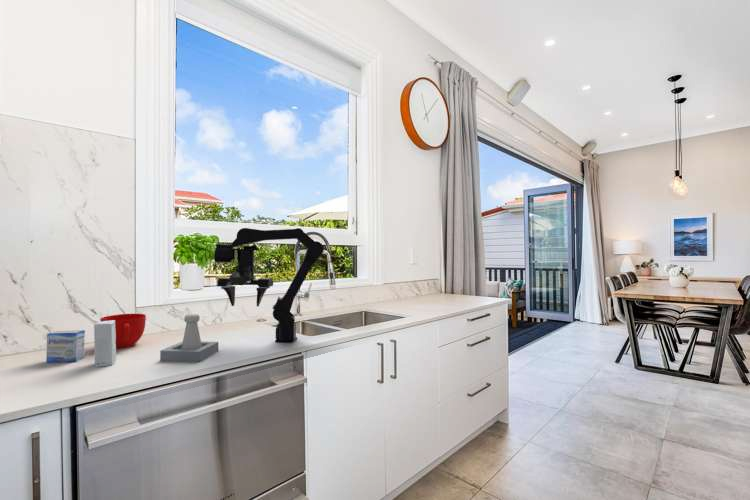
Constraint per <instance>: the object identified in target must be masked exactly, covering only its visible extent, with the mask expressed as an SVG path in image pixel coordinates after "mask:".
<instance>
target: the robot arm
mask: <svg viewBox="0 0 750 500" xmlns="http://www.w3.org/2000/svg"><path fill="white" fill-rule="evenodd" d="M280 240H281V241H282V240H297V241H298V242H299V243H301V244H302V245H303V246H304V247H305V248H306V251H305V253H304V258H303V260H302V262H301V264H300V266H299V268H298V270H297V272H296V274H295V275H294V277H293V279H292V280H291V283H290V285H289V287H288V288H287V290H286V292H285V294H283V296H282V297H280V296H278V298H277V300H276V302H275V304H273V305H272V310H273V311H272V317H273V318H274V319H275V321H276V322H278V323H276V327H275V340H274V341H275V343H294V342H295V341H296V340H297V339H298V336H297V323H296V322H295V320H296V317H295V315H294V314H293V313H292V312H291V310H292V308H293V307H292V306H293V304H294V301H295V298H296V296H297V294H298V292H299V291H300V289H301V287H302V285H303V283H304V281H305V279H306V277H307V275H308V274H309V272H310V270H311V268H312V267H313V265H315V263H316V262H317V261H318V260H319V258H320V257H321V256H322V255H323V253H324V245H323V243H321V242H320V241H316V240H314V239H313V238H311V237H310V236H309V235H308V234H307V233H306V232H304V230H303V229H302V228H299V227H298V228H297V227H296V228H290V229H289V228H287V229H268V230H267V229H265V230H264V229H263V230H262V229H255V228H249V227H248V228H247V227H243V228H239V230H237V233H236V238H235V239H234V240H233V242H231V244H222V243H216V244H215V249H214V253H213V259H214V260H213V261H214V263H215V264H233V262H234V261H236V259H237V265H236V266H235V270H234V272H232V273H231V274H230V275H229V277H221V278H218V279H217V281H216V286H217V287H220V289H221V290H224V291H225V294H227V295H226V296H228V299H229V302H230V306H231V307H234V306H235V301H236V286H258V287H256V288H255V289H256V307H259V306H260V304H261V302H262V300H263V297H264V295H265V293H266V291H267V290H268V289H270V288H271V287H274V280H273V278H271V277H268V278H267V277H261V278H258V279H256V276H255V269H256V265H255V251H260V249H261V248H259V247H258V246H257V244H256V243H260V242H265V241H280ZM251 244H252V245H251ZM240 247H243V248H240Z"/></svg>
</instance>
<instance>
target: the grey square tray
mask: <svg viewBox="0 0 750 500" xmlns="http://www.w3.org/2000/svg"><path fill="white" fill-rule="evenodd" d="M182 343H183V340H182V341H179V342H178V343H175V344H173V345H171V346H168V347H166V348H163V349H161V350H160V351H159V353H160V355H159V358H160V360H159V361H160V362H187V361H188V363H189V362H190V363H194V362H196V363H199V362H201V361H203V360H205V359H206V358H208V357H210V356H212V355H213V354H215V353H217V352H219V341H202V340H201V344H202V347H201V348H199V349H197V350H185V349H181V348H182Z"/></svg>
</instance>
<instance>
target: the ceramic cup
mask: <svg viewBox="0 0 750 500" xmlns="http://www.w3.org/2000/svg"><path fill="white" fill-rule="evenodd" d="M146 319H147V315H146V314H143V313H119V314H112V315H111V314H110V315H107V316H103V317H101V318H100V321H110V320H115V330H116V349H125V348H130V347H134V346H135V345H136V344H137V343H138V341H140V340H141V338H142V336H143V335H144V332H145V328H146Z"/></svg>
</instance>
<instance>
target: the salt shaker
mask: <svg viewBox="0 0 750 500" xmlns="http://www.w3.org/2000/svg"><path fill="white" fill-rule="evenodd" d="M200 317H201V316H200V315H199V314H198V313H188V314H186V315H185V316H184V323H186V324H185V328H184V332H183V333H184V334H183V338H182V341H183V343H182V348H181V349H185V350H197V349H199V348H201V347H202V344H201V341H202V340H201V334H200V330H199V325H198V322H199V321H201V320H200Z"/></svg>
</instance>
